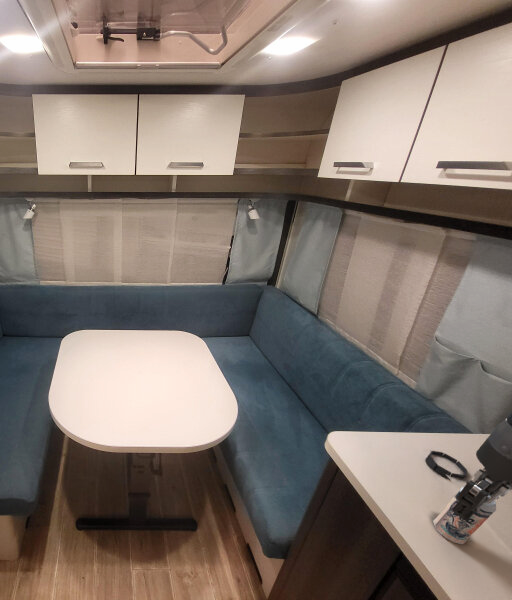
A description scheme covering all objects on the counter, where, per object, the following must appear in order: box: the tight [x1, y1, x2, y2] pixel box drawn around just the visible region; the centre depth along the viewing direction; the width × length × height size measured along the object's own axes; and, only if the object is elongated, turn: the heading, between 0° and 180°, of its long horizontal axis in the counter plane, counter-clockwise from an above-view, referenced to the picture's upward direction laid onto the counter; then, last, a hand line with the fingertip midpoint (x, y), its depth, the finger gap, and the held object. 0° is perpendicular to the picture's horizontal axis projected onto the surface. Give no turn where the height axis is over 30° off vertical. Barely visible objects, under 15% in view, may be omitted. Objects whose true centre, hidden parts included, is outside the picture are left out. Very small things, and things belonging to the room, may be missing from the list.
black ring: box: [425, 450, 469, 481], centre depth 77 cm, size 7×7×2 cm
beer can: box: [432, 486, 497, 545], centre depth 61 cm, size 5×5×12 cm
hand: (467, 510), depth 60 cm, fingers closed on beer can, 4 cm apart
